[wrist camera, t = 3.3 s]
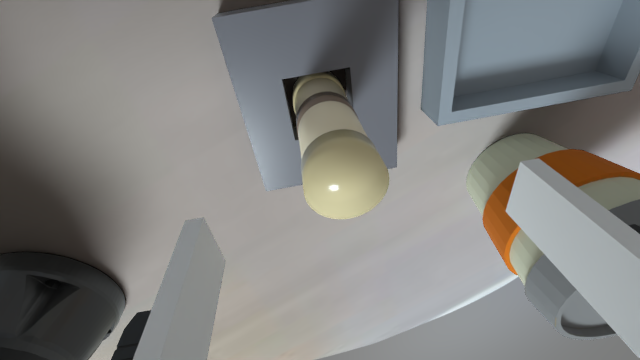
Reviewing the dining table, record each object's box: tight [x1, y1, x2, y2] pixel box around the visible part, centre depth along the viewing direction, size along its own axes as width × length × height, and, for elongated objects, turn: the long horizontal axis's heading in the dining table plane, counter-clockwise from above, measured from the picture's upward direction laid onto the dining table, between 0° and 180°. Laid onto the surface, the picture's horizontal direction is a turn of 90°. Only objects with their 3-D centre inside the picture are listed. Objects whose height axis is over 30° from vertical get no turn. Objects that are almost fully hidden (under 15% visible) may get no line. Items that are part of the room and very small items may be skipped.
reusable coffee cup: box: [466, 133, 640, 340], centre depth 26 cm, size 13×13×15 cm
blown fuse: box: [292, 71, 389, 219], centre depth 20 cm, size 4×4×13 cm
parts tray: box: [421, 0, 640, 126], centre depth 22 cm, size 14×16×4 cm
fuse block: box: [212, 0, 399, 191], centre depth 24 cm, size 14×12×2 cm
